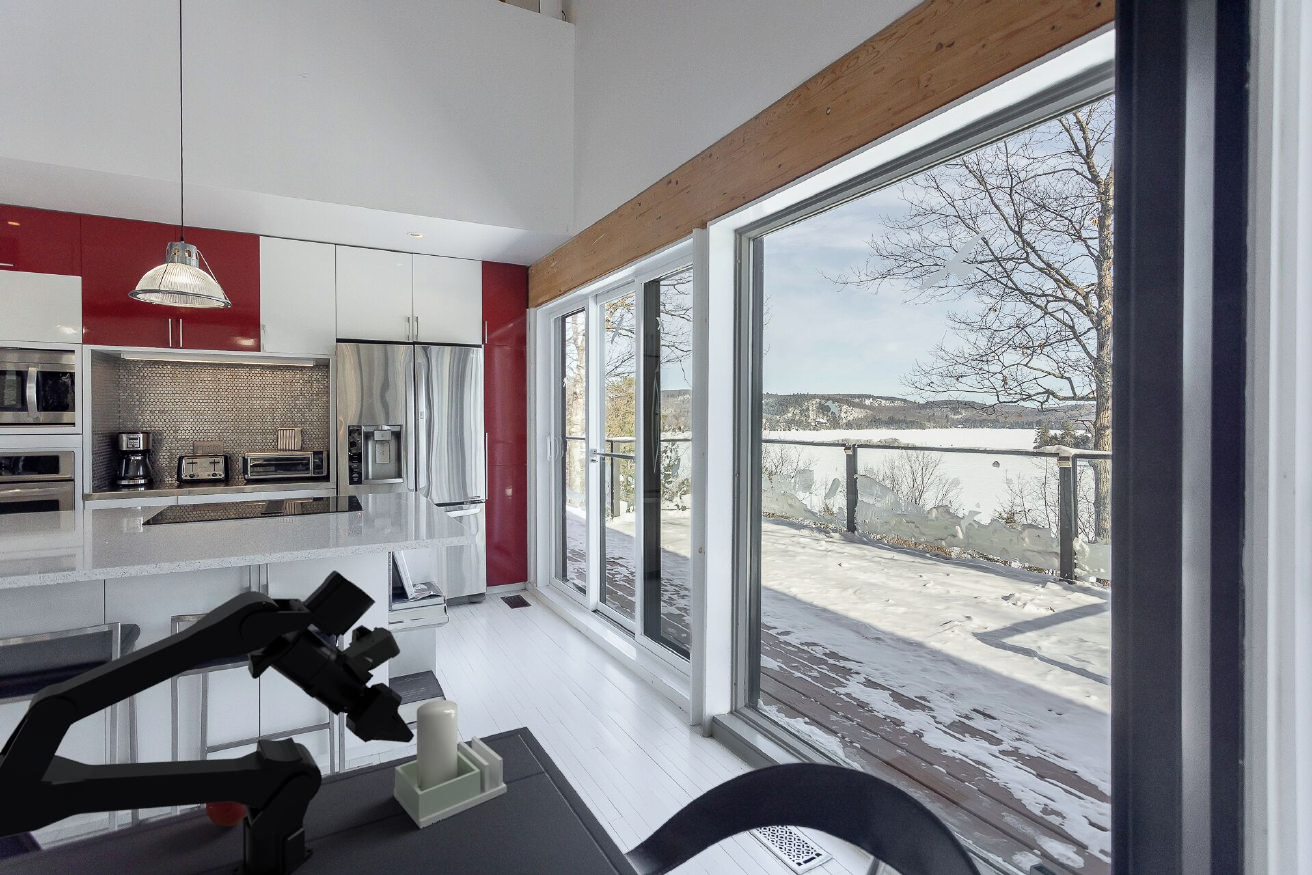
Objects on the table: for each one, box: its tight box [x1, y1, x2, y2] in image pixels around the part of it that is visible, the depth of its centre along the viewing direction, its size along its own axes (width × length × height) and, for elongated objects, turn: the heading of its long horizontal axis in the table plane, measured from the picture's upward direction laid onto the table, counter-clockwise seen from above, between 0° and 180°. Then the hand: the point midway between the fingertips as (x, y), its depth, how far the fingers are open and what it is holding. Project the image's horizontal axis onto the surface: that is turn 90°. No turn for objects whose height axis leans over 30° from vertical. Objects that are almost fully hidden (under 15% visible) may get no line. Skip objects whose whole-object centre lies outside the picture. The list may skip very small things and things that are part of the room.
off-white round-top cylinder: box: [416, 699, 458, 792], centre depth 93 cm, size 6×6×12 cm
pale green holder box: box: [393, 735, 508, 829], centre depth 94 cm, size 13×10×5 cm
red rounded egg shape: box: [205, 802, 247, 827], centre depth 86 cm, size 6×6×8 cm
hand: (398, 727), depth 89 cm, fingers open, 9 cm apart
